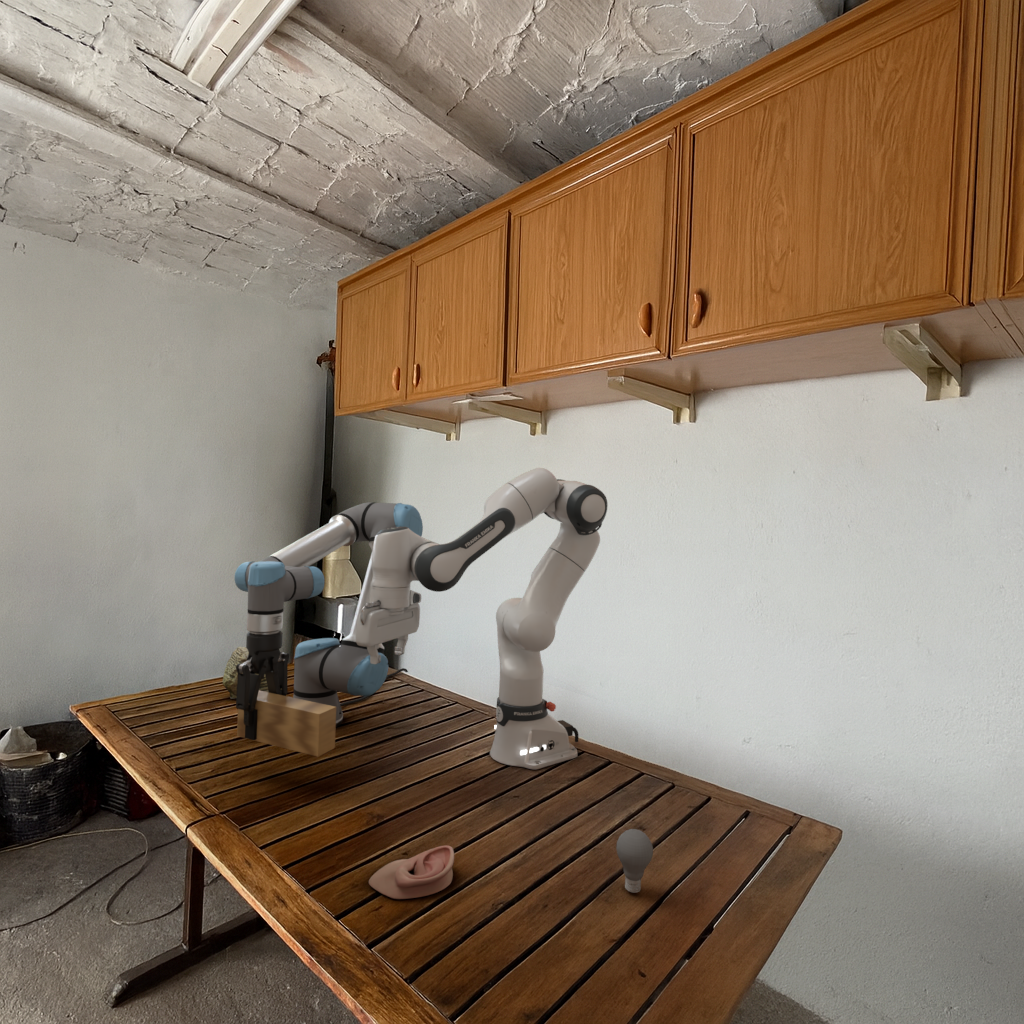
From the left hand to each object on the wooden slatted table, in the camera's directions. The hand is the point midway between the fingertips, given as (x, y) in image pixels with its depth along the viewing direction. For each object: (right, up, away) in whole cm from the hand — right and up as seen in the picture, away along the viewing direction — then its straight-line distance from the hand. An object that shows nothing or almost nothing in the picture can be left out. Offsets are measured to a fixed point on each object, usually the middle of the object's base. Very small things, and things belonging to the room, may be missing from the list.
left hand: (261, 733), depth 142 cm
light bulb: (+76, -14, -36) cm, 86 cm away
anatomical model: (+40, -12, -36) cm, 55 cm away
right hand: (+28, +16, +2) cm, 33 cm away
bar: (+6, -1, -3) cm, 7 cm away
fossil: (-24, -7, +56) cm, 61 cm away
